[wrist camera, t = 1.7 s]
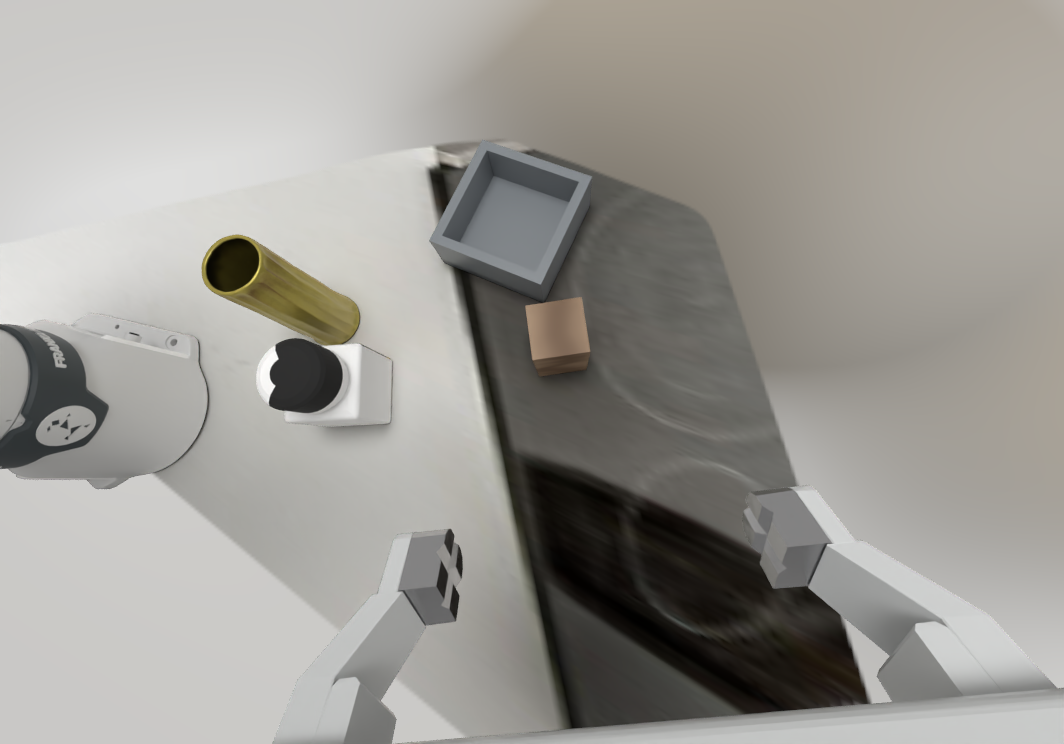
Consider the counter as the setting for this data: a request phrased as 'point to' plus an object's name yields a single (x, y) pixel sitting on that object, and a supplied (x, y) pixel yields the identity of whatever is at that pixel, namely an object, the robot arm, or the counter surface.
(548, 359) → the block
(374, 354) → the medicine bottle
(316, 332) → the vase
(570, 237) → the bin
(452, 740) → the robot arm
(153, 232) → the counter surface
